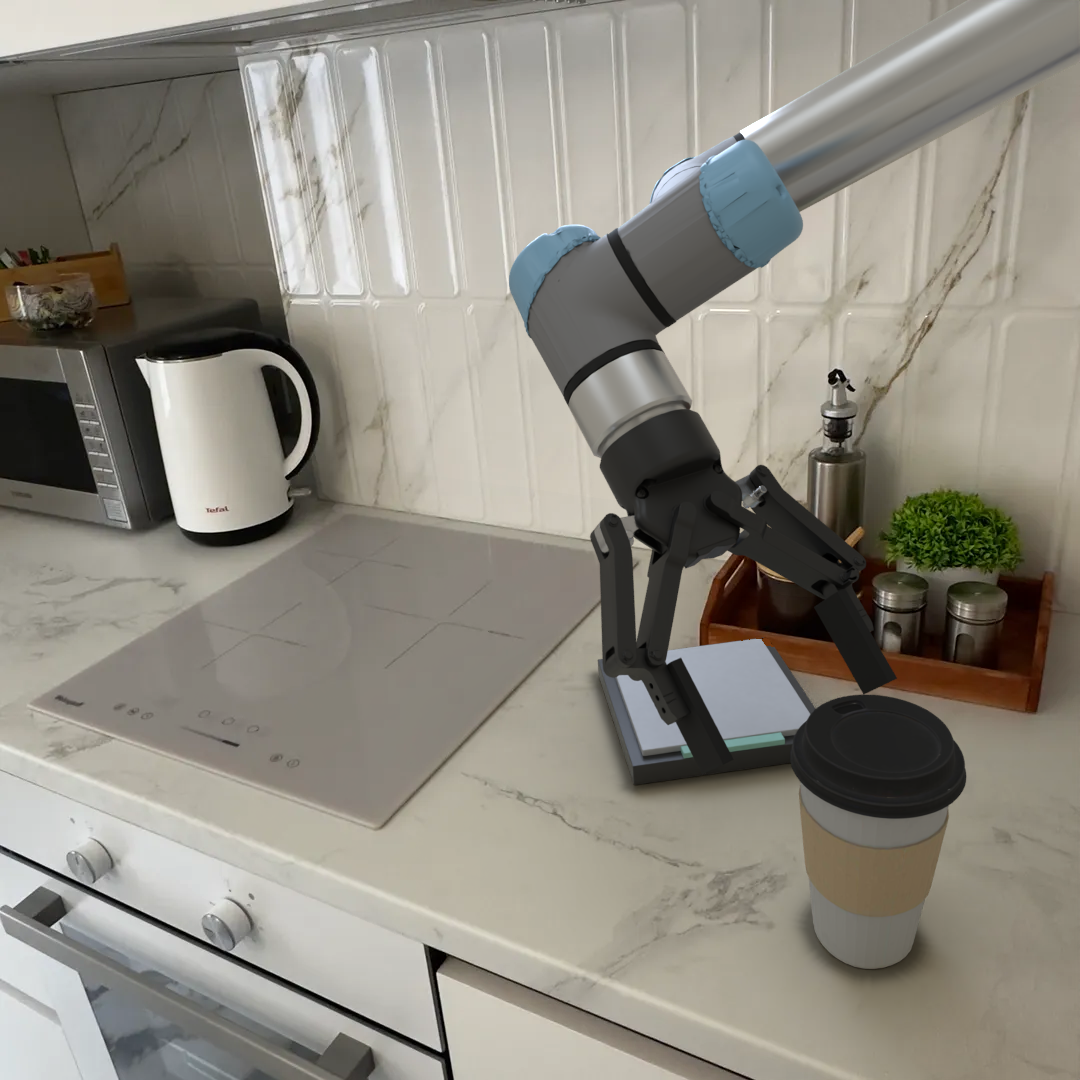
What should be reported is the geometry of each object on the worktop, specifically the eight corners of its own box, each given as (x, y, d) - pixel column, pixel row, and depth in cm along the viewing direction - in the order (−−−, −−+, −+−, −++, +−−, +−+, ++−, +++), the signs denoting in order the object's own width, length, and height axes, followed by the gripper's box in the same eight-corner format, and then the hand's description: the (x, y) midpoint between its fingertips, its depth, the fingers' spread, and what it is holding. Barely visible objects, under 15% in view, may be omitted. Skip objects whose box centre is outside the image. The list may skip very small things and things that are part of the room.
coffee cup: (834, 856, 67) (845, 669, 60) (972, 927, 60) (999, 725, 54) (755, 938, 61) (757, 740, 55) (898, 1026, 54) (919, 813, 48)
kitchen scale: (767, 653, 91) (768, 631, 90) (834, 756, 76) (835, 731, 75) (598, 675, 90) (597, 653, 89) (633, 785, 75) (632, 760, 74)
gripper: (757, 423, 74) (903, 674, 69) (467, 509, 63) (613, 818, 57) (811, 366, 68) (977, 638, 62) (499, 451, 57) (667, 792, 51)
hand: (803, 725), depth 60 cm, fingers open, 13 cm apart
